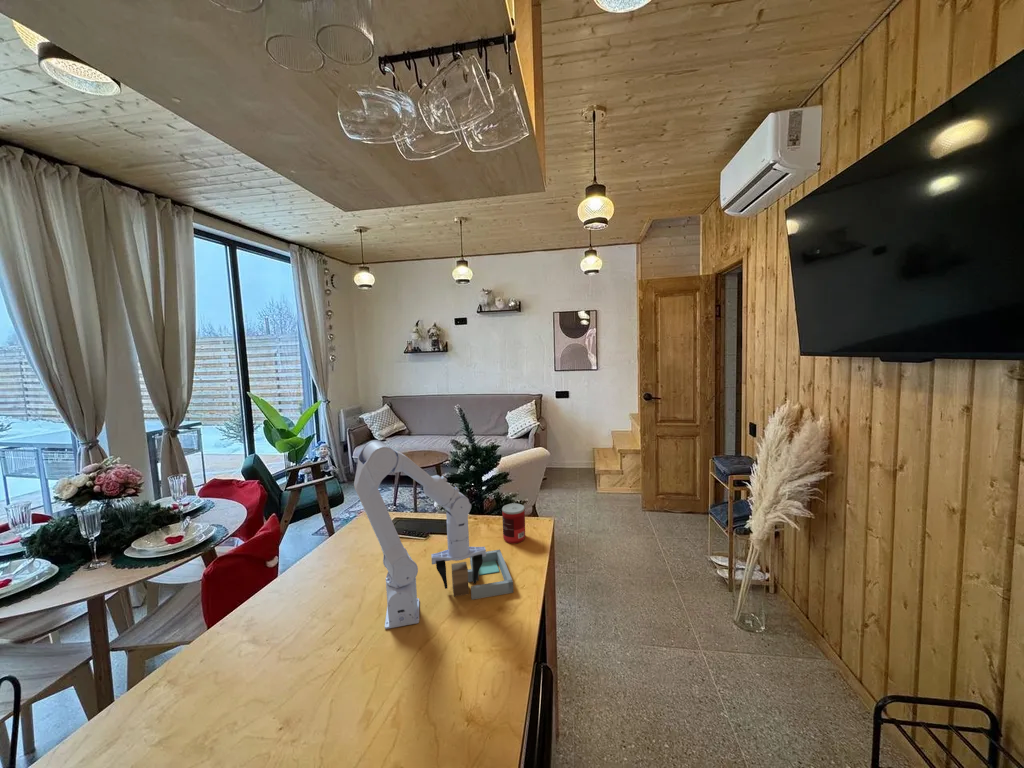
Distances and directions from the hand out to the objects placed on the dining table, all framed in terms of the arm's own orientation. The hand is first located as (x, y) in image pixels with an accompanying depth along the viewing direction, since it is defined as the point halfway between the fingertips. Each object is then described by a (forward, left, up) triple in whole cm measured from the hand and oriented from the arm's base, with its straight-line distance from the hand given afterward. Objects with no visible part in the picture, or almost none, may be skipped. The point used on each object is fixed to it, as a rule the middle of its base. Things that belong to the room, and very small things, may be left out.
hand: (460, 584), depth 109 cm
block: (0, 0, -2) cm, 2 cm away
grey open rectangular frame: (+4, -9, -2) cm, 10 cm away
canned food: (+25, -21, -2) cm, 33 cm away
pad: (+9, -9, -2) cm, 13 cm away
